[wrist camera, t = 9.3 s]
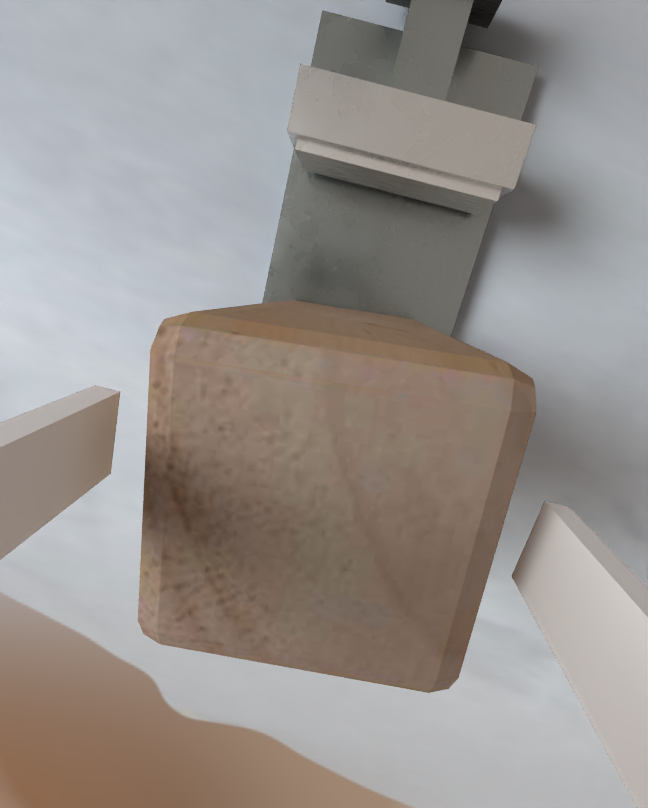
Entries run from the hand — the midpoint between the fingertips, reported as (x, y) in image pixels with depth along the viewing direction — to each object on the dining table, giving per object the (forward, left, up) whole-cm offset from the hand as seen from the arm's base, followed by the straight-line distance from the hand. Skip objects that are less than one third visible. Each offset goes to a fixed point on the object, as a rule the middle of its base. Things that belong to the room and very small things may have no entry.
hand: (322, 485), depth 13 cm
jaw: (-18, 0, -18) cm, 25 cm away
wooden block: (0, 0, -18) cm, 18 cm away
